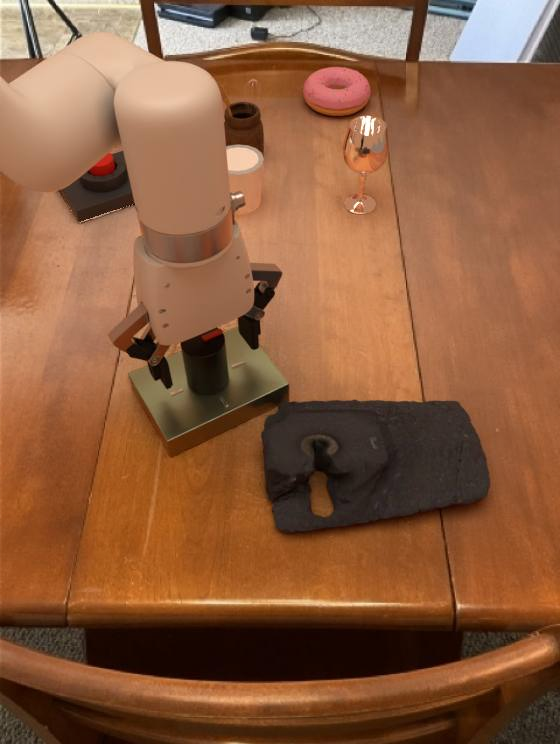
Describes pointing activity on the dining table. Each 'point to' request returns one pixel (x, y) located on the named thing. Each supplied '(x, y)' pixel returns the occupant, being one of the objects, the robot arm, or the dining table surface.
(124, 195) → the button box
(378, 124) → the wineglass
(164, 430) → the control panel
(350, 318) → the dining table surface
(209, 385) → the dial
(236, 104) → the utensil holder
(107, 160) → the button
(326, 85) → the doughnut
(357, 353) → the dining table surface
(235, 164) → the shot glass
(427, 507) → the dark grey slotted slab
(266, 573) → the dining table surface
